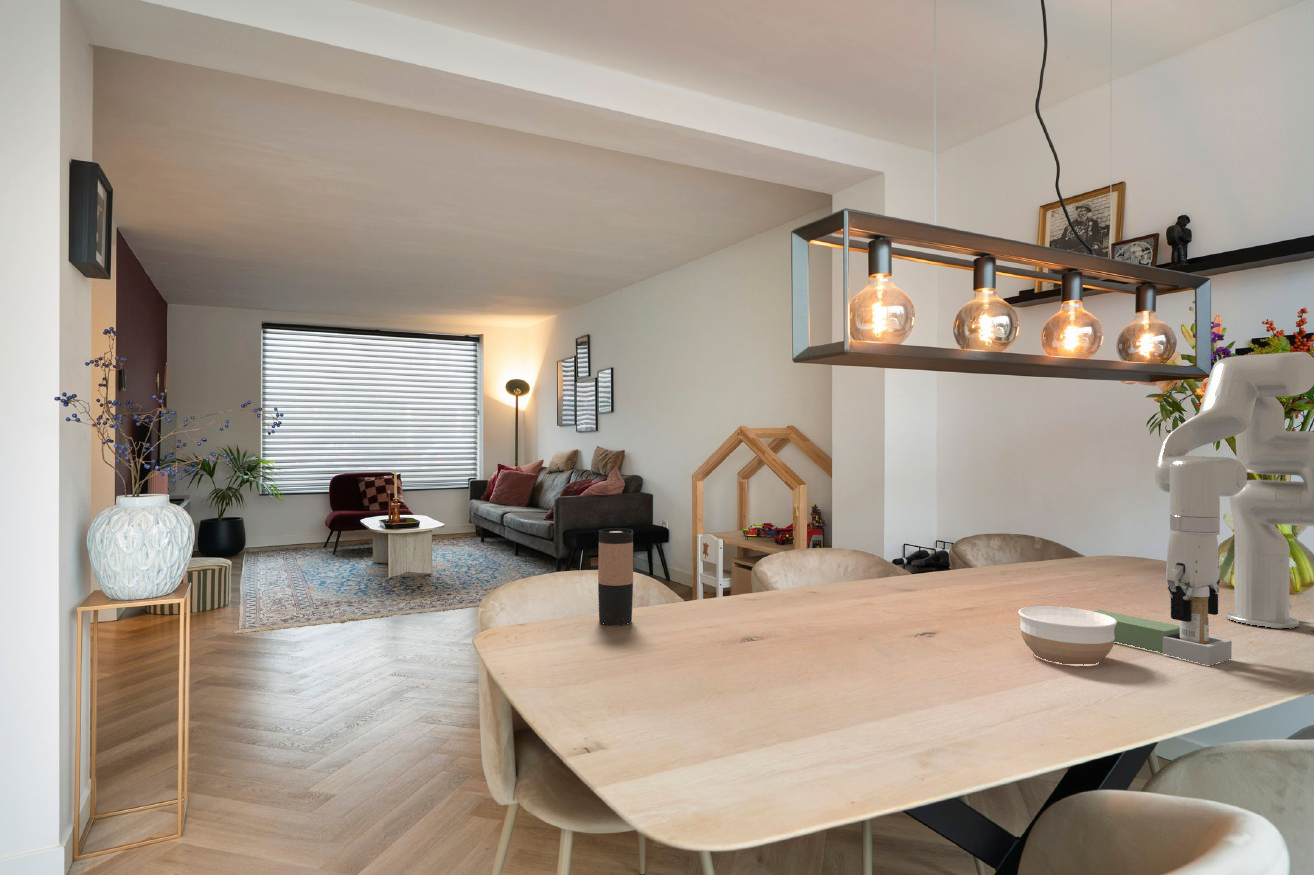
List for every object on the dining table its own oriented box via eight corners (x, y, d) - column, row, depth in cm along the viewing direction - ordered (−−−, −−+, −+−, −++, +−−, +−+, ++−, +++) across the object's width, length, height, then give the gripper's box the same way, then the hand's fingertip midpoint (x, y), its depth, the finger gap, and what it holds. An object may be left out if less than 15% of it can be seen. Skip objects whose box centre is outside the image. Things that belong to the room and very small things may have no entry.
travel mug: (592, 619, 164) (593, 529, 164) (624, 616, 167) (625, 527, 167) (605, 627, 157) (605, 533, 157) (638, 624, 160) (638, 531, 160)
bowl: (1132, 674, 127) (1132, 628, 127) (1032, 668, 130) (1032, 623, 131) (1097, 649, 143) (1097, 608, 143) (1008, 644, 146) (1008, 603, 146)
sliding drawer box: (1101, 630, 156) (1101, 609, 156) (1231, 659, 136) (1231, 635, 136) (1077, 635, 152) (1078, 614, 152) (1208, 666, 132) (1208, 641, 132)
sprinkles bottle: (1215, 660, 136) (1215, 586, 136) (1193, 661, 135) (1193, 587, 135) (1194, 653, 140) (1194, 582, 140) (1172, 653, 140) (1172, 582, 140)
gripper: (1195, 520, 145) (1195, 607, 146) (1147, 526, 137) (1148, 618, 137) (1240, 524, 139) (1240, 615, 139) (1193, 530, 130) (1193, 627, 130)
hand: (1194, 616), depth 138 cm, fingers open, 9 cm apart
